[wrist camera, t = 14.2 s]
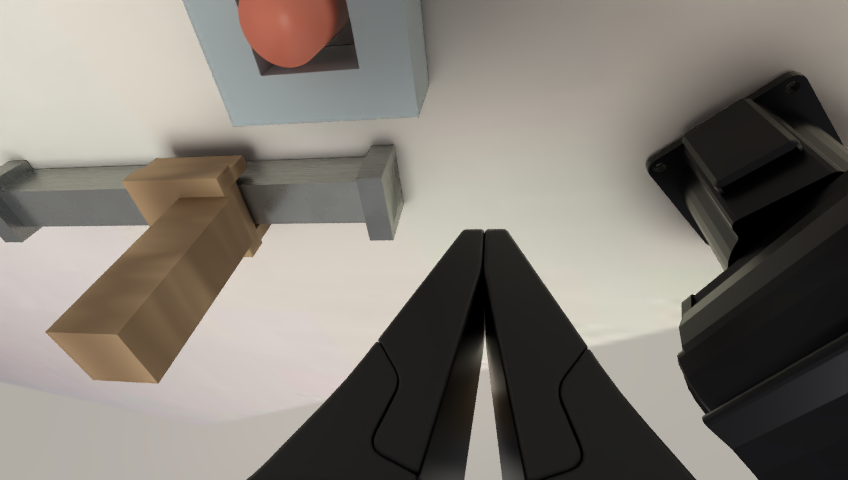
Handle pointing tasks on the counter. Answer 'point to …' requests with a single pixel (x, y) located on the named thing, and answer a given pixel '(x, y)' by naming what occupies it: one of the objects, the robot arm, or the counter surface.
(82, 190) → the rail
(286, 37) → the button
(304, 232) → the counter surface
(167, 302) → the wooden t-block
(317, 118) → the box
